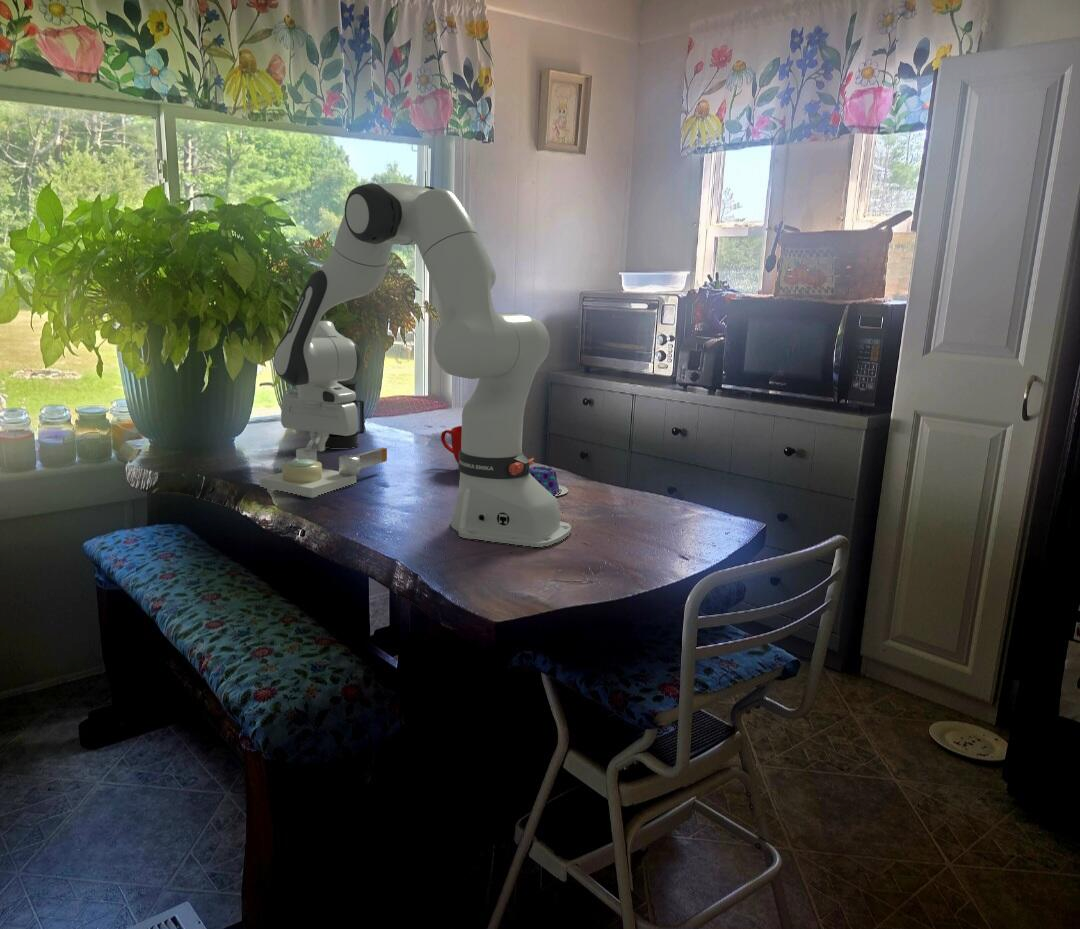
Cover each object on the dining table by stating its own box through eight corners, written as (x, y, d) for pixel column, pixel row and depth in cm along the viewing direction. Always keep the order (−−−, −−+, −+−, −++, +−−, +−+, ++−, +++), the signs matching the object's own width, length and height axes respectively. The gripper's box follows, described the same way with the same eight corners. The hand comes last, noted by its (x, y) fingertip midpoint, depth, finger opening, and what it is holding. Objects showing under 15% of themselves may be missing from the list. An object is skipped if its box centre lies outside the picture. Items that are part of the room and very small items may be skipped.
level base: (356, 483, 176) (356, 455, 175) (312, 497, 164) (311, 467, 162) (306, 474, 182) (305, 446, 181) (260, 487, 170) (259, 458, 168)
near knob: (351, 477, 172) (350, 460, 172) (334, 474, 174) (334, 457, 173) (392, 464, 185) (392, 448, 184) (377, 461, 187) (376, 446, 186)
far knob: (315, 468, 178) (315, 452, 178) (295, 467, 178) (294, 452, 177) (323, 453, 193) (323, 438, 192) (304, 453, 192) (304, 438, 191)
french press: (329, 451, 205) (327, 360, 200) (313, 444, 212) (311, 356, 207) (371, 446, 212) (370, 359, 207) (354, 440, 219) (353, 355, 214)
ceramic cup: (456, 460, 202) (457, 420, 199) (515, 470, 194) (516, 429, 192) (425, 470, 190) (426, 428, 188) (486, 481, 183) (487, 438, 181)
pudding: (545, 503, 169) (546, 478, 168) (502, 491, 176) (502, 468, 175) (579, 492, 178) (580, 469, 177) (536, 482, 185) (537, 460, 184)
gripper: (273, 389, 187) (275, 447, 190) (343, 396, 178) (345, 458, 181) (292, 386, 192) (294, 443, 195) (361, 393, 184) (362, 453, 187)
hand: (319, 450), depth 188 cm, fingers closed
